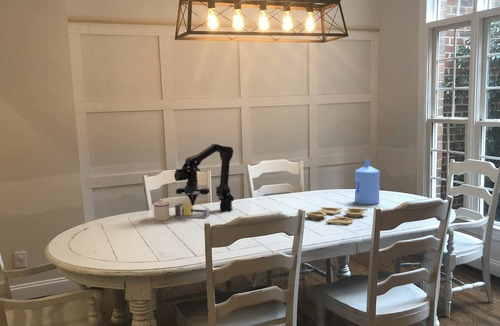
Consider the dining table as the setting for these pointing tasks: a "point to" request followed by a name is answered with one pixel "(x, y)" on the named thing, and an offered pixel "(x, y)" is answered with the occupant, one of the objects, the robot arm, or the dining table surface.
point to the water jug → (367, 184)
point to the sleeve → (188, 208)
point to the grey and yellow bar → (180, 211)
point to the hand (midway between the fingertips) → (193, 205)
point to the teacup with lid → (161, 210)
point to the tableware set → (338, 220)
